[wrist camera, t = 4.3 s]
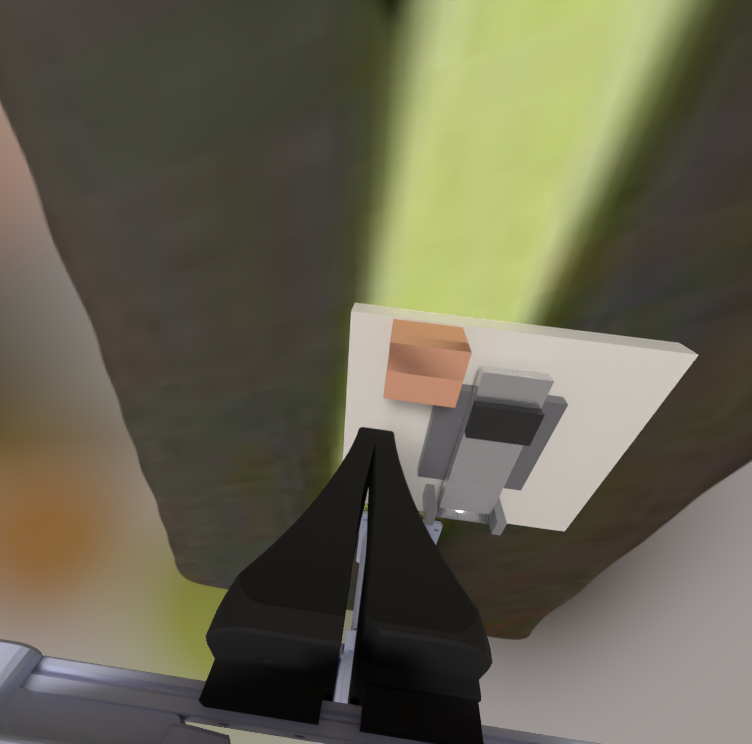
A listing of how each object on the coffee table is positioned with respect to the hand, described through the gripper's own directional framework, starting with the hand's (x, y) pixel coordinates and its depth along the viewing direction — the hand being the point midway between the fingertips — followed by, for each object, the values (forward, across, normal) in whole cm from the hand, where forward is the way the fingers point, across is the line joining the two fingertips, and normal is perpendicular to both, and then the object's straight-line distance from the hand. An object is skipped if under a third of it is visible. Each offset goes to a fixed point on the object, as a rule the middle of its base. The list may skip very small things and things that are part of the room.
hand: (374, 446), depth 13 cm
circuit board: (+10, -8, +6) cm, 14 cm away
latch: (+8, -2, -1) cm, 8 cm away
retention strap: (+7, -8, +6) cm, 12 cm away
